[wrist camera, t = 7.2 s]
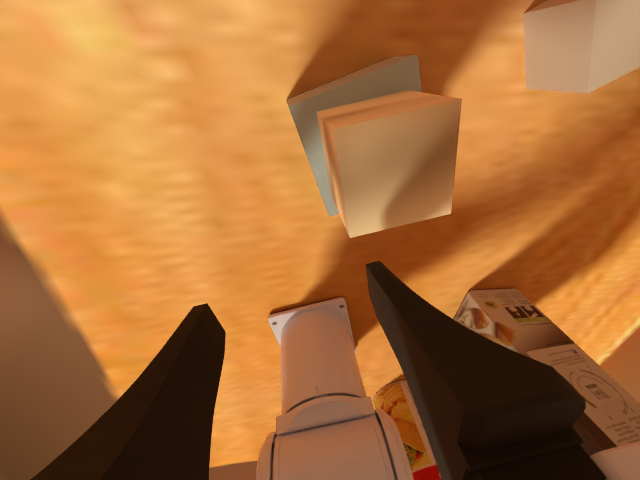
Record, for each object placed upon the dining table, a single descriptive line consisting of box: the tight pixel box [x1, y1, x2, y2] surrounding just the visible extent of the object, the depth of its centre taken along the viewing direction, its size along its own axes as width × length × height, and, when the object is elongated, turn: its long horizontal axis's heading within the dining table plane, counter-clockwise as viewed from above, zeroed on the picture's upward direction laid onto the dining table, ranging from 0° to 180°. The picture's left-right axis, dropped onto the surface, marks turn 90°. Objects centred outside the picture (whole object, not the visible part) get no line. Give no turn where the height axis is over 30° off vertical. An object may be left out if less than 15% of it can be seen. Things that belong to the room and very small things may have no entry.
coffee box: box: [454, 288, 640, 456], centre depth 25 cm, size 9×6×16 cm
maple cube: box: [316, 90, 462, 238], centre depth 13 cm, size 5×5×5 cm
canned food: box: [373, 380, 442, 480], centre depth 35 cm, size 8×8×12 cm
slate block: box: [287, 54, 422, 217], centre depth 17 cm, size 7×7×4 cm
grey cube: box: [524, 0, 640, 94], centre depth 15 cm, size 4×4×4 cm
